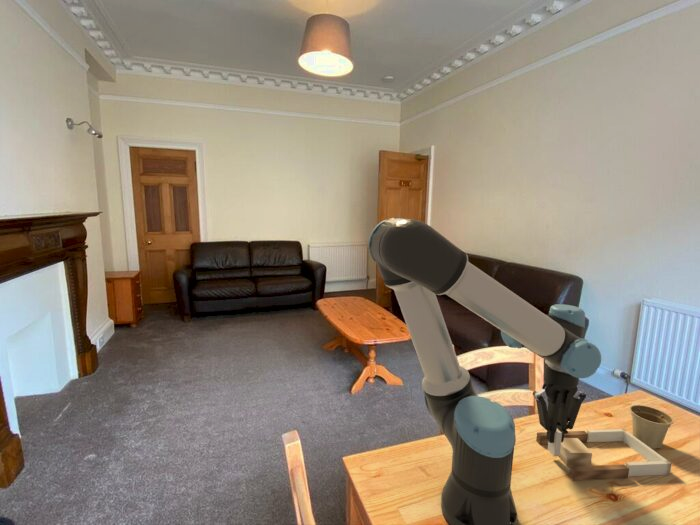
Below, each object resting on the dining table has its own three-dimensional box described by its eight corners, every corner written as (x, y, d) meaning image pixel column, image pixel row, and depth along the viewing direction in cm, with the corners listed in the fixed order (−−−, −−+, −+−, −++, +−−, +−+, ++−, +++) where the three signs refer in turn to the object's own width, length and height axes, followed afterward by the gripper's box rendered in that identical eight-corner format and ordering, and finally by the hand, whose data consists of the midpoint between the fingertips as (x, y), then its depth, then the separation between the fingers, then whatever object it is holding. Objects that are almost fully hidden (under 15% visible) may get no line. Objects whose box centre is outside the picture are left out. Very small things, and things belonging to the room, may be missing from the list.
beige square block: (566, 466, 91) (568, 452, 90) (553, 451, 97) (555, 437, 96) (590, 467, 91) (592, 453, 90) (576, 451, 96) (577, 438, 96)
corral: (628, 476, 87) (629, 465, 87) (586, 439, 101) (587, 430, 101) (669, 474, 88) (671, 463, 88) (622, 438, 102) (624, 428, 102)
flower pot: (677, 456, 95) (682, 426, 94) (637, 450, 97) (641, 421, 96) (655, 434, 104) (659, 407, 103) (619, 430, 106) (622, 403, 105)
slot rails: (573, 480, 86) (574, 471, 85) (536, 440, 101) (537, 432, 100) (627, 478, 87) (629, 468, 87) (583, 438, 102) (584, 430, 101)
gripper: (546, 374, 85) (538, 464, 89) (598, 372, 86) (587, 461, 90) (528, 361, 93) (521, 444, 96) (576, 359, 94) (567, 442, 97)
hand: (553, 452), depth 93 cm, fingers closed
